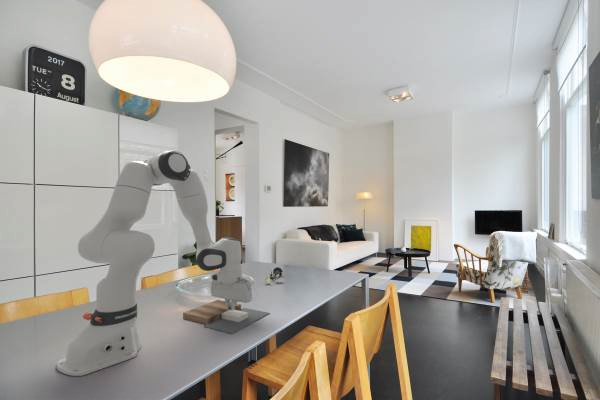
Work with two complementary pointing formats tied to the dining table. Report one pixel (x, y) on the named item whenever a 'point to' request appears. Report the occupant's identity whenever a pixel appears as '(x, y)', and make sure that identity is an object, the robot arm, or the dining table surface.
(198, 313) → the wooden board
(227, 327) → the mat
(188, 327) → the dining table surface
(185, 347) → the dining table surface
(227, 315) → the white flat block
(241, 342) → the dining table surface
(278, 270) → the artificial flower
